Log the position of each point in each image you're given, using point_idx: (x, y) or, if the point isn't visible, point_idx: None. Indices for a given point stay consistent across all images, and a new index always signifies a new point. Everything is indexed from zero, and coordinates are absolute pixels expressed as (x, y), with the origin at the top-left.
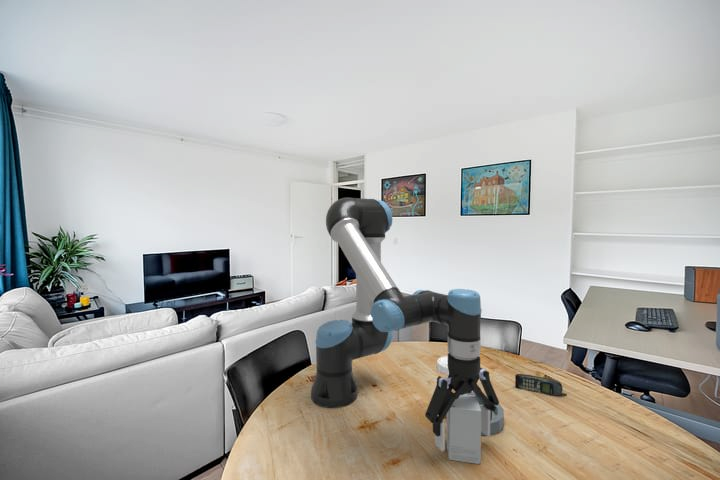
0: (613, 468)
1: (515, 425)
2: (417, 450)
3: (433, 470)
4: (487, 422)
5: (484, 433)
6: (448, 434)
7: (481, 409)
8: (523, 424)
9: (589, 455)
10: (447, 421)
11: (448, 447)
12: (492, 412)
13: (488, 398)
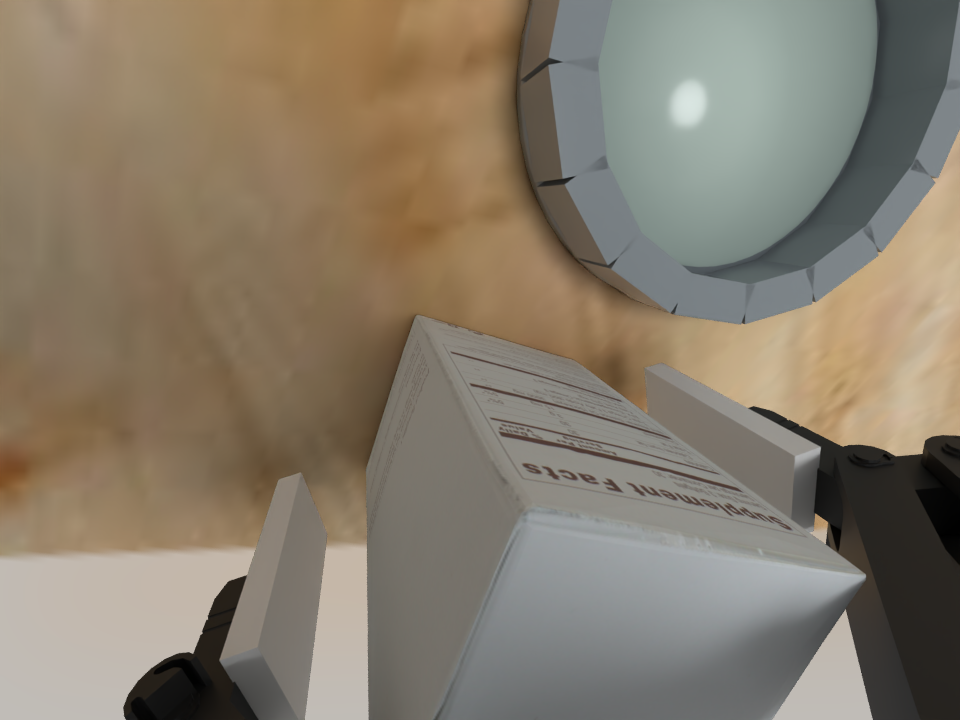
0: None
1: None
2: (178, 389)
3: (251, 532)
4: None
5: (649, 407)
6: (375, 532)
7: (768, 455)
8: (911, 235)
9: None
10: (397, 512)
11: (371, 484)
12: (859, 109)
13: (942, 476)
